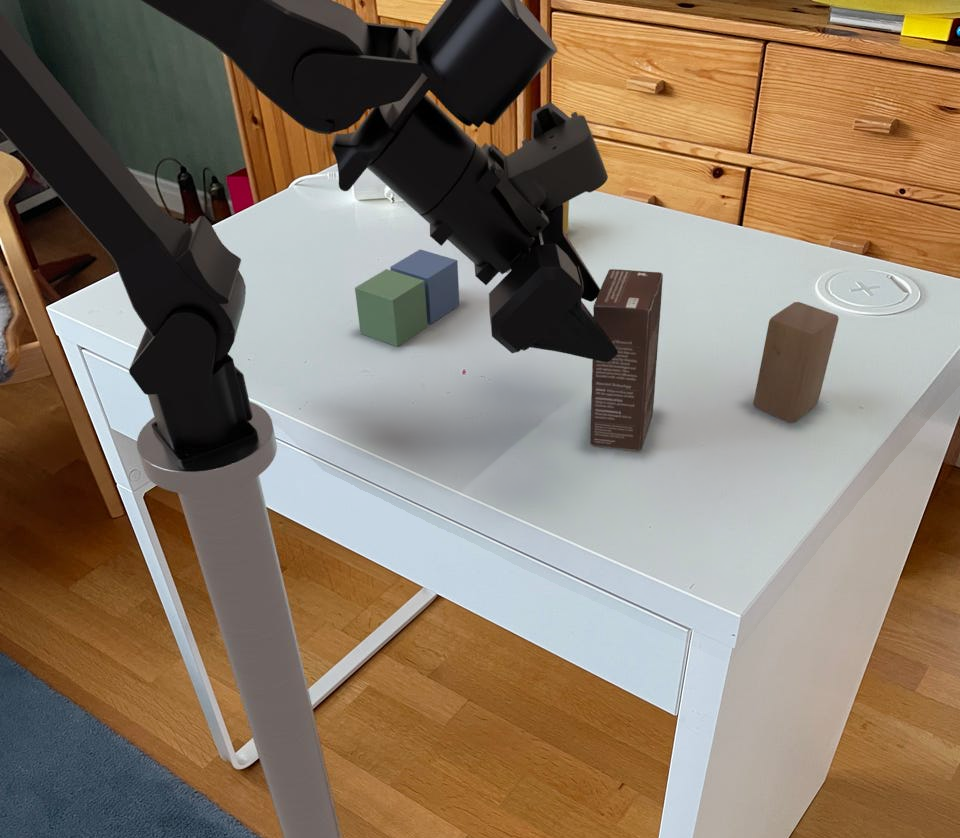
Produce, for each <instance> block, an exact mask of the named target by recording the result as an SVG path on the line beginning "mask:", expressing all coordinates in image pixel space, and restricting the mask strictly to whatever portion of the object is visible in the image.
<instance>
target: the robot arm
mask: <svg viewBox="0 0 960 838" xmlns="http://www.w3.org/2000/svg"><path fill="white" fill-rule="evenodd" d="M140 1H141V2H143V3H145V4H146V5H148V6H149V7H151V8H153V9H154V10H156V11H157V12H160V13H161V14H162V15H165V16H166V17H168V18H169V19H171V20H172V21H174V22H176V23H178V24H179V25H181V26H183V27H185V28H186V29H188V30H189V31H191V32H193V33H194V34H196V35H198V36H199V37H202V39H204V40H206V41H208V42H209V43H211V44H212V45H213V46H214V47H215V48H217V49H218V50H219V51H220V52H222V54H224V55H225V56H226V57H228V58H229V59H230V60H231V62H232V63H233V64H234V65H235V66H236V68H238V70H239V71H240V72H241V73H242V74H243V75H244V76H245V78H246V79H247V80H248V81H249V82H250V83H251V85H253V87H254V88H255V89H257V91H259V92H260V93H261V94H262V95H264V96H265V97H266V98H267V99H268V100H269V101H271V102H272V103H273V104H274V105H275V106H276V107H278V108H279V109H281V110H282V111H283V112H284V113H285V114H286V115H287V116H289V118H291V119H292V120H294V121H295V122H296V123H297V124H299V125H300V126H301V127H303V128H305V129H307V130H309V131H311V132H314V133H316V134H321V135H331V134H334V133H335V134H334V135H333V139H332V145H331V150H332V152H333V155H334V158H335V161H336V166H337V173H338V188H339V190H341V191H343V192H348V191H350V190H351V188H352V187H353V186H354V185H355V183H356V182H357V181H358V180H359V178H360V177H361V176H362V175H363V173H365V171H366V170H367V169H368V170H369V171H370V172H371V173H372V174H374V176H376V177H377V178H378V179H379V180H380V181H381V182H382V183H383V184H385V185H386V186H387V187H388V188H389V189H390V190H391V191H392V192H393V193H395V194H396V195H397V197H399V198H401V200H402V201H403V202H405V203H406V204H407V205H408V206H409V207H410V208H412V209H413V210H414V211H415V212H416V213H417V214H418V215H419V216H420V217H422V219H424V220H425V221H426V222H427V223H428V224H429V237H430V238H431V239H433V240H434V241H435V242H436V244H438V246H440V247H442V246H443V245H444V244H445V243H446V242H447V241H448V242H449V243H450V244H452V245H453V246H454V247H455V248H456V249H457V250H459V251H460V252H461V253H462V254H463V255H464V256H465V257H466V258H468V259H469V261H471V262H472V263H473V264H474V276H475V277H476V279H478V280H479V281H480V282H482V284H484V285H485V286H487V285H489V284H490V283H491V281H492V280H493V279H494V278H495V277H496V276H497V275H498V274H501V275H504V274H505V273H506V275H505V276H504V277H503V278H502V279H501V280H500V281H499V283H498V284H496V286H494V287H493V289H492V290H491V291H490V292H489V293H488V307H489V308H488V309H489V320H490V321H489V322H490V331H491V337H492V338H494V340H496V341H497V342H498V343H499V344H500V345H501V346H502V347H504V348H505V349H506V350H507V351H508V352H510V353H511V354H516V353H519V352H521V351H523V352H524V351H527V350H529V349H536V350H537V349H538V350H545V351H551V352H557V353H562V354H566V355H572V356H575V357H579V358H584V359H588V360H589V359H590V360H592V361H593V360H597V361H601V362H606V363H607V362H609V361H611V360H612V359H613V358H614V357H615V356H616V355H617V354H618V351H617V348H616V347H615V345H614V344H613V343H612V341H611V340H610V338H609V337H608V336H607V334H606V333H605V332H604V330H603V329H602V328H601V326H600V325H599V324H598V322H597V321H596V320H595V318H594V317H593V314H592V313H591V311H590V310H589V309H588V307H587V306H586V305H585V303H584V302H583V301H582V299H583V300H584V301H588V302H595V301H596V299H597V296H598V294H599V291H600V289H601V287H600V286H599V285H598V283H597V281H596V280H595V278H594V277H593V275H592V274H591V272H590V271H589V269H588V267H587V265H586V264H585V263H584V261H583V259H582V258H581V256H580V254H579V253H578V252H577V250H576V248H575V246H574V245H573V243H572V242H571V240H570V238H569V236H568V234H566V233H565V232H564V230H563V203H565V202H567V201H569V202H570V201H571V200H573V199H574V198H577V197H579V196H580V195H582V194H584V193H592V192H595V191H596V190H598V189H600V188H601V187H602V186H603V185H604V184H606V182H607V181H608V178H609V176H608V173H607V170H606V168H605V165H604V162H603V159H602V156H601V154H600V151H599V149H598V147H597V143H596V141H595V139H594V137H593V134H592V131H591V128H590V125H589V124H588V121H587V120H586V119H587V118H586V117H585V115H582V114H581V115H580V114H579V115H578V113H577V111H574V112H572V113H571V114H570V116H571V118H570V116H569V115H568V114H566V113H565V112H564V111H563V110H561V109H560V107H557V106H556V105H555V104H554V103H553V102H547V103H545V104H544V105H542V106H540V107H539V108H536V109H535V110H533V111H532V112H531V125H530V126H531V127H530V137H531V139H530V140H528V138H525V139H523V140H522V141H521V144H522V145H521V146H520V147H519V148H517V149H515V150H514V151H513V152H511V153H509V154H508V155H506V154H505V153H503V151H501V150H500V149H499V148H498V147H497V146H496V145H495V144H494V143H492V144H491V145H489V144H488V143H486V142H484V143H483V145H482V146H480V145H479V144H477V142H476V141H475V140H474V139H473V138H471V137H470V136H469V134H468V133H466V131H464V129H462V128H461V126H460V125H458V124H457V123H456V122H455V121H454V120H453V119H452V118H451V117H450V116H449V115H448V114H447V113H446V112H445V111H444V110H443V109H442V108H441V107H440V106H438V105H437V103H435V101H433V100H432V98H431V97H430V96H429V95H428V94H427V93H428V92H430V93H431V94H432V95H433V96H434V97H435V98H436V99H437V100H438V101H439V102H440V104H441V105H442V106H443V107H444V108H445V109H446V110H447V111H448V113H450V114H451V115H452V116H453V117H454V118H455V119H457V120H458V121H459V122H460V123H461V124H464V126H467V127H471V126H472V125H473V126H475V127H476V128H478V129H479V128H480V127H481V126H482V125H483V124H484V123H486V124H488V125H490V126H495V124H496V123H497V122H498V121H499V119H501V117H502V116H503V115H504V114H505V112H507V110H508V109H509V108H510V107H511V106H512V105H513V103H514V102H515V101H516V100H517V99H518V98H519V97H520V95H521V94H522V93H523V92H524V91H525V89H526V88H527V87H528V86H529V85H530V83H531V82H532V81H533V80H534V79H535V78H536V76H537V75H538V74H539V73H540V72H542V70H543V69H544V67H545V66H546V65H547V64H548V63H549V62H550V60H552V58H553V57H554V56H555V55H556V53H557V52H558V48H557V46H556V44H555V42H554V40H553V39H552V38H551V36H550V35H549V34H548V32H547V31H546V29H545V28H544V27H543V25H542V24H541V23H540V21H539V20H538V19H537V18H536V17H535V16H534V14H533V13H532V12H531V11H530V10H529V8H528V7H527V6H526V5H525V4H524V3H523V1H521V0H445V1H443V3H442V5H441V6H439V8H438V10H437V11H436V12H435V13H434V15H433V16H432V17H431V19H430V20H429V21H428V23H427V24H426V25H425V26H424V28H423V29H422V30H421V29H420V28H419V27H413V26H401V25H395V24H394V25H392V24H386V23H385V24H384V23H374V22H367V21H366V22H365V20H364V19H363V18H362V17H361V16H360V15H359V14H357V12H355V11H354V10H352V9H351V8H349V7H347V6H346V5H344V4H342V3H339V2H337V1H334V0H140ZM368 110H370V111H369V112H368V114H367V115H366V117H364V115H365V113H366V112H367V111H368ZM363 117H364V119H363V120H362V121H361V123H360V124H359V125H358V126H357V128H356V129H355V131H353V132H348V133H347V132H346V133H339V132H340V131H344V130H348V129H350V128H351V127H353V126H354V125H355V124H356V123H358V122H359V121H360V120H361V119H362V118H363ZM0 132H1V133H2V134H3V135H4V137H5V138H6V139H7V140H8V141H9V142H10V143H11V145H13V147H14V148H15V149H16V151H18V152H19V154H20V155H21V156H22V157H23V158H24V159H25V160H26V161H27V163H28V164H29V165H30V166H31V167H32V168H33V170H34V171H35V172H36V173H37V175H38V176H40V177H41V179H42V180H43V181H44V182H45V183H46V185H48V186H49V188H50V189H51V190H52V191H53V192H54V194H55V195H56V196H57V197H58V198H59V199H60V200H61V202H62V203H63V204H64V205H65V206H66V207H67V208H68V209H69V211H70V212H71V213H72V214H73V215H74V216H75V217H76V219H77V220H78V221H79V223H81V225H83V226H84V228H85V229H86V230H87V231H88V232H89V233H90V234H91V236H92V237H93V238H94V239H95V241H97V242H98V244H99V245H100V246H101V247H102V248H103V249H104V251H106V252H107V254H108V255H109V256H110V258H111V260H112V261H113V263H114V264H115V267H116V269H117V271H118V274H119V277H120V279H121V282H122V284H123V287H124V289H125V291H126V294H127V296H128V299H129V302H130V304H131V306H132V308H133V310H134V311H135V313H136V315H137V316H138V318H139V319H140V321H141V323H142V324H143V325H144V327H145V330H144V333H143V335H142V337H141V340H140V342H139V345H138V347H137V350H136V352H135V354H134V356H133V360H132V362H131V364H130V367H129V368H128V373H129V375H130V376H131V378H132V379H133V381H134V382H135V383H136V385H137V386H138V387H139V388H140V390H141V391H142V393H143V394H145V395H147V398H148V400H149V403H150V407H151V410H152V413H153V417H155V420H156V422H154V423H153V424H152V425H151V426H152V429H153V431H154V433H155V434H156V435H157V436H158V437H159V439H160V440H161V441H162V442H163V444H164V445H165V446H166V447H167V448H168V450H169V451H170V452H171V453H172V455H173V456H174V457H175V458H176V459H177V461H178V462H179V463H180V464H182V465H187V464H190V463H193V462H195V461H198V460H201V459H203V458H206V457H209V456H211V455H214V454H217V453H219V452H222V451H225V450H228V449H230V448H233V447H236V446H238V445H241V444H244V443H246V442H249V441H252V440H254V439H256V438H257V437H258V434H257V430H256V429H255V428H254V427H253V426H252V425H251V424H250V423H249V422H248V421H250V420H252V417H253V415H252V411H251V406H250V402H251V401H250V398H249V393H248V388H247V385H246V380H245V376H244V373H243V372H242V371H241V370H240V369H239V368H238V367H237V366H235V361H234V358H233V357H232V356H231V355H230V354H229V353H230V352H231V349H232V347H233V345H234V343H235V339H236V336H237V333H238V329H239V325H240V323H241V319H242V315H243V311H244V308H245V304H246V293H247V292H246V290H247V289H246V288H247V286H246V283H245V279H244V277H243V275H242V274H241V272H240V266H241V263H242V258H241V257H240V256H238V255H237V254H234V253H233V252H232V251H230V249H228V247H226V246H225V245H224V243H223V242H222V241H221V239H220V237H219V236H218V234H217V232H216V230H215V229H214V227H213V225H212V223H211V222H210V221H209V220H208V219H207V218H206V217H205V216H204V215H200V216H199V217H198V218H197V219H196V220H195V221H194V222H193V224H191V225H190V226H189V225H187V224H185V223H184V222H182V221H181V220H179V219H177V218H175V217H173V216H172V215H170V214H168V213H167V212H166V211H164V209H162V208H161V207H160V206H159V205H158V204H157V202H156V201H155V200H154V198H153V197H152V196H151V195H150V194H149V193H148V191H147V190H146V189H145V187H144V186H143V185H142V183H140V181H139V180H138V179H137V177H136V176H135V175H134V174H133V172H132V171H131V170H130V169H129V168H128V167H127V165H126V164H125V163H124V162H123V160H122V158H120V157H119V155H118V154H117V153H116V151H115V150H114V149H113V148H112V147H111V145H110V144H109V143H108V142H107V141H106V139H105V138H104V137H103V136H102V135H101V133H100V132H99V131H98V129H97V128H96V127H95V126H94V124H93V123H92V122H91V121H90V120H89V118H88V117H87V116H86V115H85V113H83V111H82V110H81V109H80V108H79V106H78V105H77V104H76V102H75V100H73V99H72V97H71V96H70V95H69V94H68V92H67V91H66V90H65V89H64V88H63V87H62V85H61V84H60V83H59V81H58V80H57V79H56V78H55V77H54V75H53V74H52V73H51V71H49V69H48V67H46V65H45V64H44V63H43V62H42V60H41V59H40V58H39V57H38V56H37V55H36V53H35V52H34V51H33V50H32V48H31V47H30V46H29V45H28V43H27V42H26V41H25V40H24V38H23V37H22V36H21V34H20V33H19V32H18V31H17V30H16V28H15V27H14V26H13V25H12V24H11V22H10V21H9V19H8V18H6V16H5V15H4V14H3V13H2V11H1V10H0ZM249 401H250V402H249Z"/></svg>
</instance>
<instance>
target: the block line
mask: <svg viewBox="0 0 960 838" xmlns="http://www.w3.org/2000/svg"><path fill="white" fill-rule="evenodd" d="M569 206H570V200H569V201H567V202H565V203H563V230H564V232H565V233H566V235H568V233H569V212H570V207H569ZM389 268H390V269H388V268H385V269H384V270H382V271H381V272H379V273H377V274H375V275H374V276H372V277H370V278H369V279H367V280H365V281H363V282H361V283H360V284H359V285H357V286H355V287H354V293H355V302H356V307H357V316H358V325H359V333H360V334H361V335H363V336H366V337H368V338H369V337H370V338H371V339H372V338H373V339H374V340H378V341H380V342H383V343H386V344H389V345H392V346H394V347H399V346H401V345H403V344H404V343H405V342H407V341H408V340H410V339H411V338H414V336H416V335H417V334H419V333H420V332H422V331H423V330H425V329H427V328H428V326H429V325H428V324H430V325H432V324H434V323H435V322H437V321H438V320H440V319H441V318H444V317H445V316H446V315H447V314H449V313H450V312H452V311H453V310H456V309H457V308H458V307H459V306H460V287H459V284H460V283H459V265H458V260H457V259H454V258H451V257H448V256H445V255H442V254H437V253H434V252H431V251H427V250H424V249H418V250H416V251H414V252H412V253H411V254H409V255H408V256H406V257H404V258H403V259H400V260H399V261H398V262H396V263H394V264H393V265H391V266H389Z"/></svg>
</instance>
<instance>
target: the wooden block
mask: <svg viewBox="0 0 960 838" xmlns="http://www.w3.org/2000/svg"><path fill="white" fill-rule="evenodd" d="M839 320H840V317H839V316H838V314H835V313H833V312H829V311H827V310H825V309H824V310H823V309H820V308H818V307H815V306H813V305H809V304H807V303H803V302H801V301H793V303H791V304H789V305H788V306H786V307H784V308H783V309H782V310H780V311H779V312H777V313H775V314H774V315H773V316H771V317H770V319H769V321H768V326H767V331H766V335H765V341H764V346H763V351H762V357H761V362H760V365H759V366H760V367H759V372H758V375H757V376H758V378H757V382H756V387H755V393H754V398H753V403H752V406H753V407H754V408H755V409H757V410H760V411H762V412H764V413H766V414H769V415H771V416H773V417H776V418H778V419H780V420H783V421H786V422H788V423H792V424H793V423H796V422H797V421H798V420H800V419H801V418H802V417H804V416H805V415H807V414H808V413H809V412H810V411H812V410H813V409H814V408H815V407H816V406H817V405H818V404H819V401H820V397H821V393H822V389H823V384H824V380H825V377H826V373H827V368H828V364H829V360H830V356H831V352H832V348H833V345H834V339H835V336H836V333H837V332H836V331H837V327H838V324H839Z"/></svg>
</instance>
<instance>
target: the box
mask: <svg viewBox="0 0 960 838" xmlns="http://www.w3.org/2000/svg"><path fill="white" fill-rule="evenodd" d="M663 280H664V273H662V272H660V271H657V272H656V271H646V270H632V269H631V270H630V269H615V268H613V269H612V268H610V269H608V271H607V274H606V275H605V277H604V280H603V282H602V284H601V287H600V291H599V294H598V296H597V298H596V299H595V300H594V303H593V305H592V307H593V309H592V311H593V314H592V316H593V317H594V318H595V320H596V321H597V322H598V324H599V325H600V326H601V328H602V329H603V330H604V332H605V333H606V334H607V336H608V337H609V338H610V340H611V341H612V343H613V344H614V345H615V347H616V348H617V351H618V354H617V355H616V356H615V357H614V358H613V359H612V360H611V361H609V362H607V363H606V362H601V361H597V360H593V359H592V365H591V366H592V369H591V371H592V372H591V395H590V396H591V397H590V398H591V399H590V431H589V433H590V436H589V440H590V441H589V444H590V445H591V446H594V447H599V448H607V449H614V450H621V451H629V452H641V451H642V450H643V447H644V443H645V441H646V437H647V434H648V432H649V427H650V425H651V421H652V417H653V413H654V404H655V392H656V391H655V389H656V376H657V375H656V374H657V373H656V372H657V361H658V347H659V335H660V334H659V333H660V321H661V310H662V309H661V308H662V297H663V295H662V294H663Z"/></svg>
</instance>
